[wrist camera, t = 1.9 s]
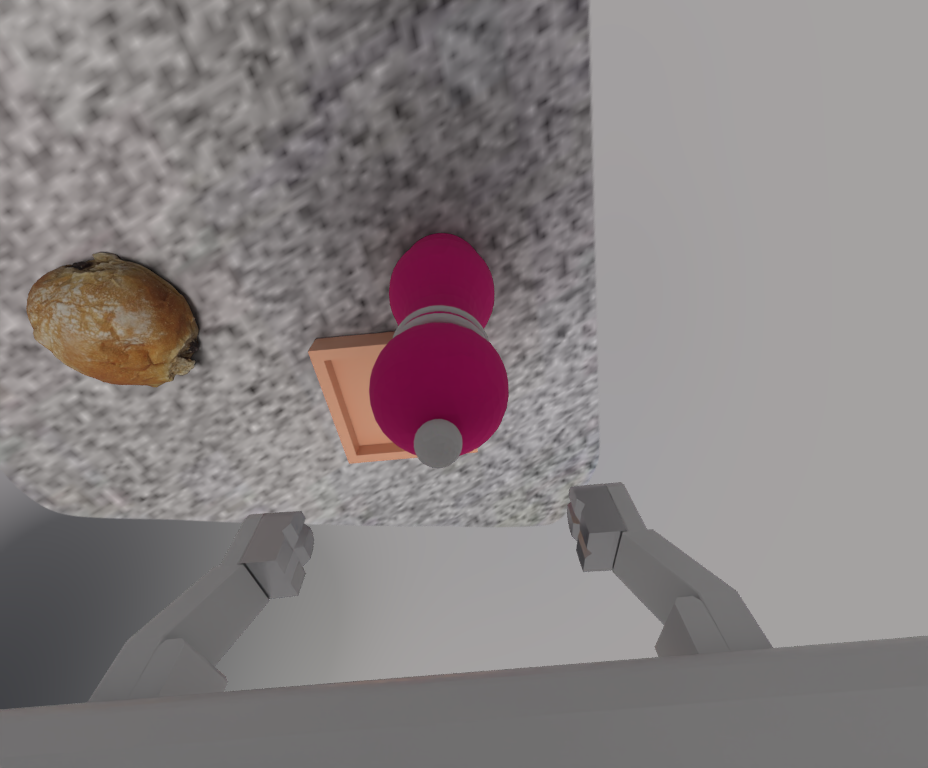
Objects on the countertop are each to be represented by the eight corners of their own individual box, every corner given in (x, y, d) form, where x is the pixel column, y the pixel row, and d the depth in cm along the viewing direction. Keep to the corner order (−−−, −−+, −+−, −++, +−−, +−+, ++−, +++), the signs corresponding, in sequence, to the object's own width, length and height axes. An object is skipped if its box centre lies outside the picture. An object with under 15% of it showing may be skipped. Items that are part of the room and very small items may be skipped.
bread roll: (193, 248, 31) (91, 224, 23) (235, 367, 33) (153, 382, 25) (92, 280, 32) (-38, 268, 24) (137, 393, 34) (29, 416, 26)
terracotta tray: (315, 338, 32) (307, 351, 30) (466, 324, 32) (467, 336, 30) (353, 448, 39) (349, 463, 38) (476, 437, 39) (477, 452, 37)
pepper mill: (486, 221, 27) (548, 362, 11) (490, 313, 31) (538, 517, 15) (388, 230, 27) (299, 383, 11) (404, 320, 31) (358, 532, 15)
